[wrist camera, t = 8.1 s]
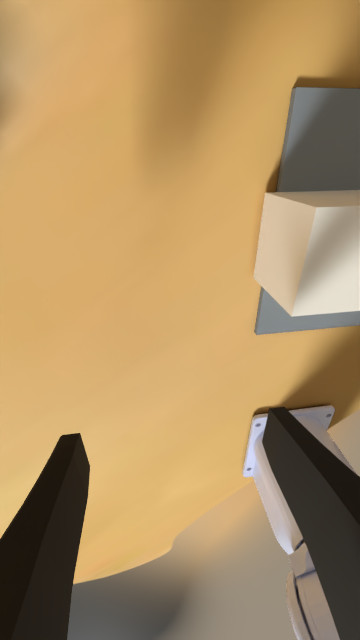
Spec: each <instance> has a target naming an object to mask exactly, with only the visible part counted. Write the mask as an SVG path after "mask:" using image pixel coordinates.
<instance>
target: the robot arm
mask: <svg viewBox="0 0 360 640" xmlns="http://www.w3.org/2000/svg"><path fill="white" fill-rule="evenodd" d="M334 412H335V408H334V407H333V406H331V405H328V406H320V407H312V408H305V409H297V410H289V411H288V410H287V409H286V408H285V407H279V408H272V409H269V412H268V413H266V414H258V415H255V416H254V417H253V419H252V424H251V429H250V434H249V440H248V445H247V450H246V456H245V461H244V466H243V472H242V473H243V476H244V477H251V476H253V478H254V481H255V484H256V486H257V489H258V492H259V494H260V497H261V500H262V502H263V505H264V508H265V510H266V513H267V516H268V519H269V521H270V524H271V527H272V529H273V532H274V534H275V537H276V539H277V540H278V542H279V544H280V545H281V547H282V548H283V549H284V550H285V551H286V552H287V553H288V554H289V555H288V559H289V562H290V565H291V567H292V571H290V572H289V574H288V577H287V589H286V598H287V605H288V609H289V614H290V618H291V622H292V625H293V628H294V631H295V634H296V637H297V640H360V477H359V476H358V475H357V474H356V472H355V471H354V469H353V468H352V466H351V465H350V464H349V462H348V461H347V459H346V458H345V457H344V455H343V454H342V452H341V451H340V449H339V448H338V447H337V445H336V444H335V442H334V441H333V439H332V438H331V437H330V435H329V434H328V432H327V429H328V427H329V424H330V422H331V419H332V417H333V414H334ZM89 473H90V465H89V462H88V458H87V455H86V452H85V448H84V445H83V442H82V438H81V435H80V433H76V434H68V435H62V436H61V437H60V438H59V440H58V442H57V444H56V446H55V448H54V450H53V452H52V454H51V456H50V458H49V460H48V462H47V463H46V465H45V467H44V469H43V471H42V472H41V474H40V476H39V478H38V479H37V481H36V483H35V484H34V486H33V488H32V490H31V491H30V493H29V495H28V496H27V498H26V500H25V501H24V503H23V505H22V506H21V508H20V509H19V511H18V513H17V514H16V516H15V517H14V519H13V520H12V522H11V523H10V525H9V526H8V528H7V529H6V531H5V533H4V534H3V536H2V537H1V539H0V640H67V633H68V623H69V613H70V603H71V593H72V586H73V579H74V572H75V567H76V561H77V555H78V550H79V544H80V538H81V533H82V527H83V522H84V516H85V510H86V504H87V498H88V487H89Z"/></svg>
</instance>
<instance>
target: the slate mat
mask: <svg viewBox="0 0 360 640" xmlns="http://www.w3.org/2000/svg"><path fill="white" fill-rule="evenodd" d="M340 190H360V89H357V88H308V87H296V88H293V89H292V94H291V100H290V107H289V113H288V120H287V126H286V132H285V139H284V145H283V152H282V158H281V164H280V171H279V177H278V184H277V190H276V192H305V191H340ZM357 325H360V311H351V312H339V313H328V314H316V315H305V316H293V317H291V316H290V315H289V314H288V313H287V312H286V311H285V310H284V309H283V307H282V306H281V305H280V304H279V303H278V302H277V301H276V300H275V299H274V298H273V297H272V296H271V295H270V294H269V293H268V292H267V291H266V290H265V289H264V288H263V287H262V286H261V293H260V299H259V306H258V312H257V318H256V325H255V331H254V332H255V333H256V335H260V334H271V333H282V332H293V331H303V330H314V329H325V328H336V327H346V326H357Z"/></svg>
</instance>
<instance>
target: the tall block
mask: <svg viewBox="0 0 360 640" xmlns="http://www.w3.org/2000/svg"><path fill="white" fill-rule="evenodd" d="M253 278H254V279H255V280H256V281H257V282H258V283H259V284H260V285H261V286H262V287H263V288H264V289H265V290H266V291H267V292H268V293H269V294H270V295H271V296H272V297H273V298H274V299H275V300H276V301H277V302H278V303H279V304H280V305H281V306H282V307H283V309H284V310H285V311H286V312H287V313H288V314H289V315H290V316H291V317H293V316H305V315H316V314H328V313H339V312H351V311H360V190H340V191H305V192H270V193H265V197H264V204H263V212H262V219H261V226H260V234H259V241H258V248H257V256H256V263H255V270H254V277H253Z"/></svg>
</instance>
